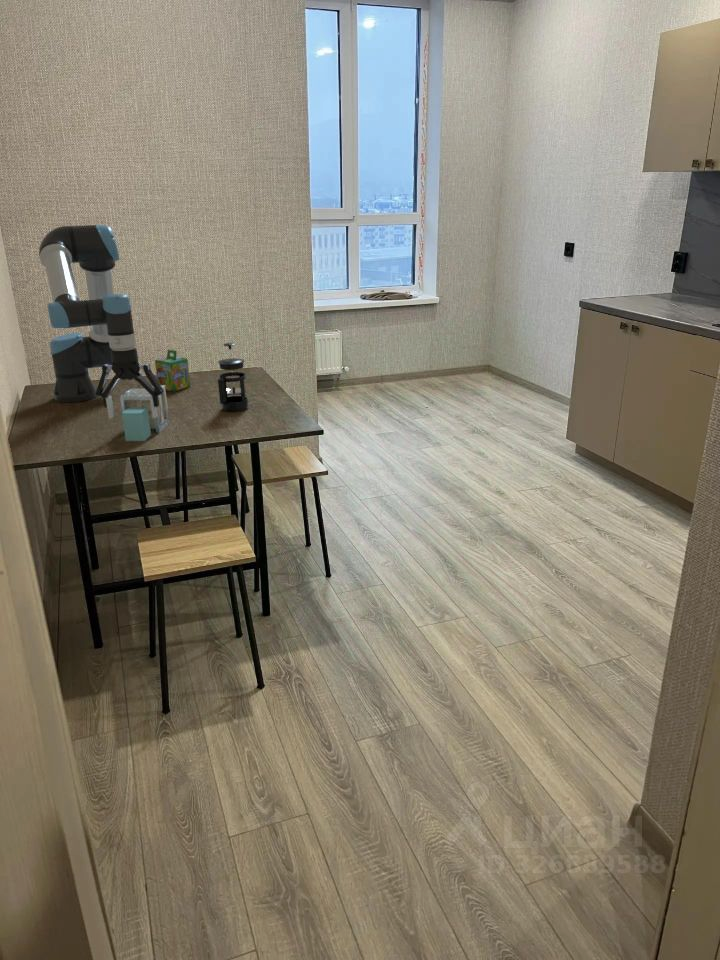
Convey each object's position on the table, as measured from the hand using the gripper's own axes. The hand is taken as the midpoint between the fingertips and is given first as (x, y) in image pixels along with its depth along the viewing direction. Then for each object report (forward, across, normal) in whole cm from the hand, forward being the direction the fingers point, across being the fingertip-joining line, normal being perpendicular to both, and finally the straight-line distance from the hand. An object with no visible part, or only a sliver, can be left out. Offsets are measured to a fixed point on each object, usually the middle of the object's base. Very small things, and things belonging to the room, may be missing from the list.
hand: (133, 417), depth 216 cm
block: (+7, 0, +1) cm, 7 cm away
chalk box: (+7, -6, +62) cm, 62 cm away
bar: (+7, 0, +21) cm, 22 cm away
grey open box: (+7, 0, +11) cm, 13 cm away
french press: (+7, +24, +33) cm, 41 cm away
